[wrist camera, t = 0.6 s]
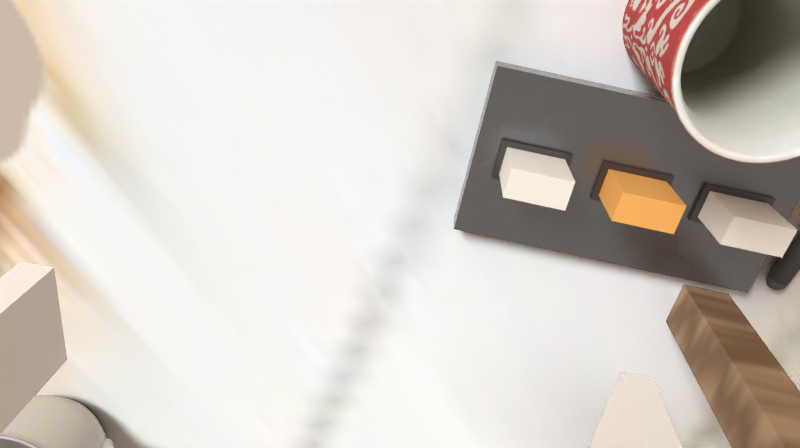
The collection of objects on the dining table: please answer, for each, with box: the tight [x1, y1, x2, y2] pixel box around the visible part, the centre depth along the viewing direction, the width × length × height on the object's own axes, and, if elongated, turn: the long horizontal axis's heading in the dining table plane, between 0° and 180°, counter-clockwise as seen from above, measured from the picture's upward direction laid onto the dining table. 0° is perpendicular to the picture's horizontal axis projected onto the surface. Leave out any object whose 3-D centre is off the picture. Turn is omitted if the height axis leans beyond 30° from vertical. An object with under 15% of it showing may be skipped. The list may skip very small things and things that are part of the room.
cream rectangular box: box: [698, 191, 797, 258], centre depth 39 cm, size 2×4×4 cm, turn 79°
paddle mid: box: [599, 169, 686, 234], centre depth 39 cm, size 2×4×4 cm, turn 79°
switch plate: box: [454, 61, 800, 292], centre depth 42 cm, size 12×22×2 cm, turn 79°
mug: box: [623, 0, 800, 163], centre depth 31 cm, size 13×9×14 cm
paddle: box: [499, 147, 575, 211], centre depth 39 cm, size 2×4×4 cm, turn 79°
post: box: [666, 285, 800, 448], centre depth 39 cm, size 4×4×18 cm
